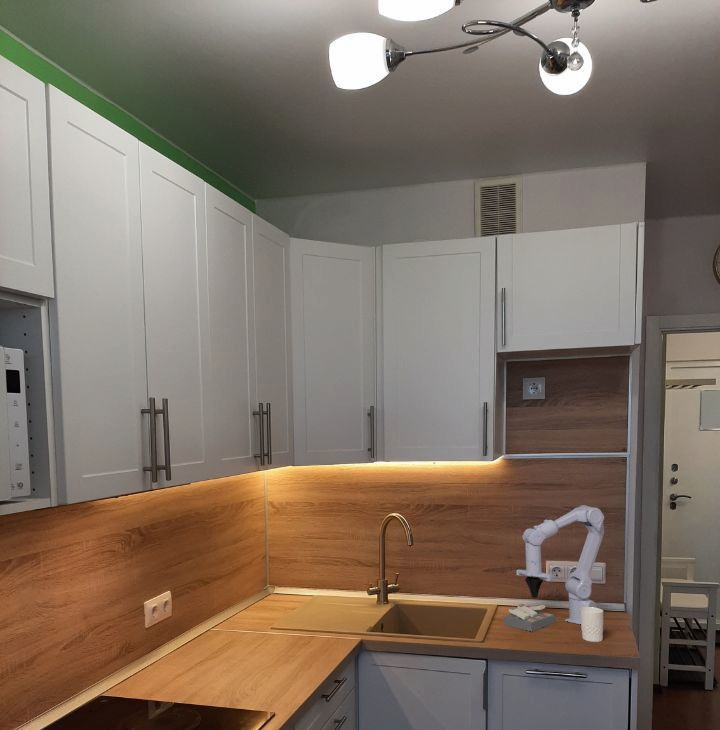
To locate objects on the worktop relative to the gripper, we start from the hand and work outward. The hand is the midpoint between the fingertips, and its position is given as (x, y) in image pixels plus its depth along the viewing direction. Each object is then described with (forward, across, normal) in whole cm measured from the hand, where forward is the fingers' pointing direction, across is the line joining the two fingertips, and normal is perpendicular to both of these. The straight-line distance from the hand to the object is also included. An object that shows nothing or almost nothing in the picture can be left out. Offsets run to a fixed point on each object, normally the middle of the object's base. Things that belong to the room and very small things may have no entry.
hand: (534, 597), depth 248 cm
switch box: (+10, -1, -2) cm, 10 cm away
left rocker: (+5, -2, -7) cm, 9 cm away
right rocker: (+5, -2, +4) cm, 7 cm away
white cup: (+10, +24, -1) cm, 26 cm away
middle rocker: (+5, -2, -2) cm, 6 cm away
